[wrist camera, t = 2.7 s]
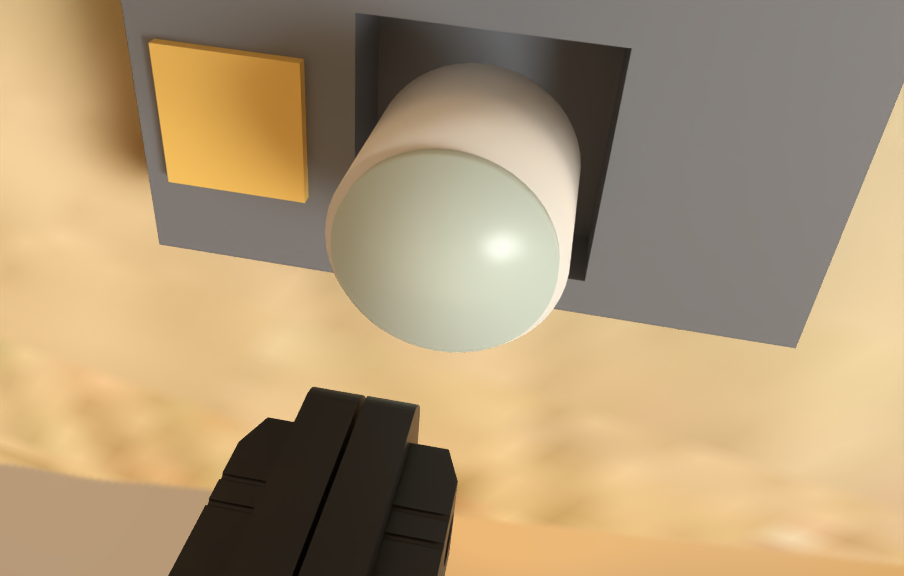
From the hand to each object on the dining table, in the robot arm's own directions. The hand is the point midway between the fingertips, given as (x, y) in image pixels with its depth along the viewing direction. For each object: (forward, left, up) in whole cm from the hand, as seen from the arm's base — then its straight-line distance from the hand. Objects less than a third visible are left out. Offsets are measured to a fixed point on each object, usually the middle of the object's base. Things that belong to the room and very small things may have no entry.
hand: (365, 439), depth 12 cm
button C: (0, 0, -9) cm, 9 cm away
